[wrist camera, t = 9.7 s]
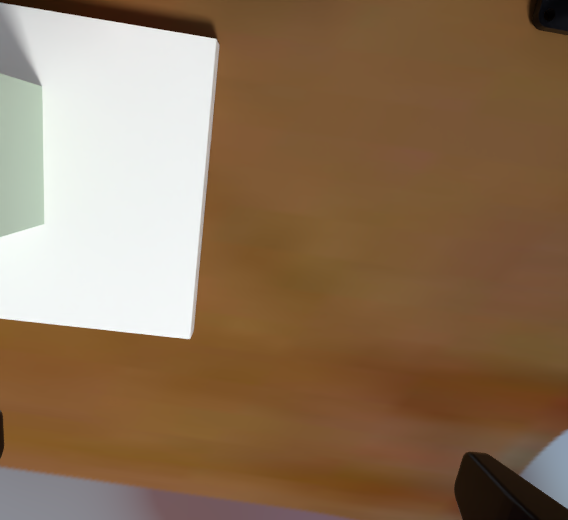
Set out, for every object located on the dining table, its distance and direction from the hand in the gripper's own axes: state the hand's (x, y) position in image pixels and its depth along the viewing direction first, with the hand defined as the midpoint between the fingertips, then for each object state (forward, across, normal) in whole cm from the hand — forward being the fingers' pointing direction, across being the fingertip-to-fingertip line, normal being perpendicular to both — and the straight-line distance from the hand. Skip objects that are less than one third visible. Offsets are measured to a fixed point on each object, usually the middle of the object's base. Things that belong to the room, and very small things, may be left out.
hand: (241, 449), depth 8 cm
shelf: (+13, +10, -3) cm, 16 cm away
